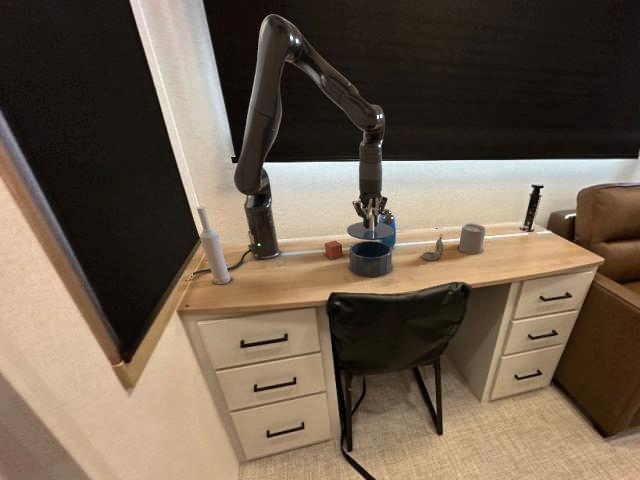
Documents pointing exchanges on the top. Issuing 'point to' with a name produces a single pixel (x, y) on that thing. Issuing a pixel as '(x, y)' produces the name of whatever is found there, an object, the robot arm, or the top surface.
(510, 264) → the top surface
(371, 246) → the bowl
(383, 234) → the lid
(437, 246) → the pocket watch
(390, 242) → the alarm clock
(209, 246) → the bottle
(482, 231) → the grey cylinder
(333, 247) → the block
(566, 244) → the top surface
